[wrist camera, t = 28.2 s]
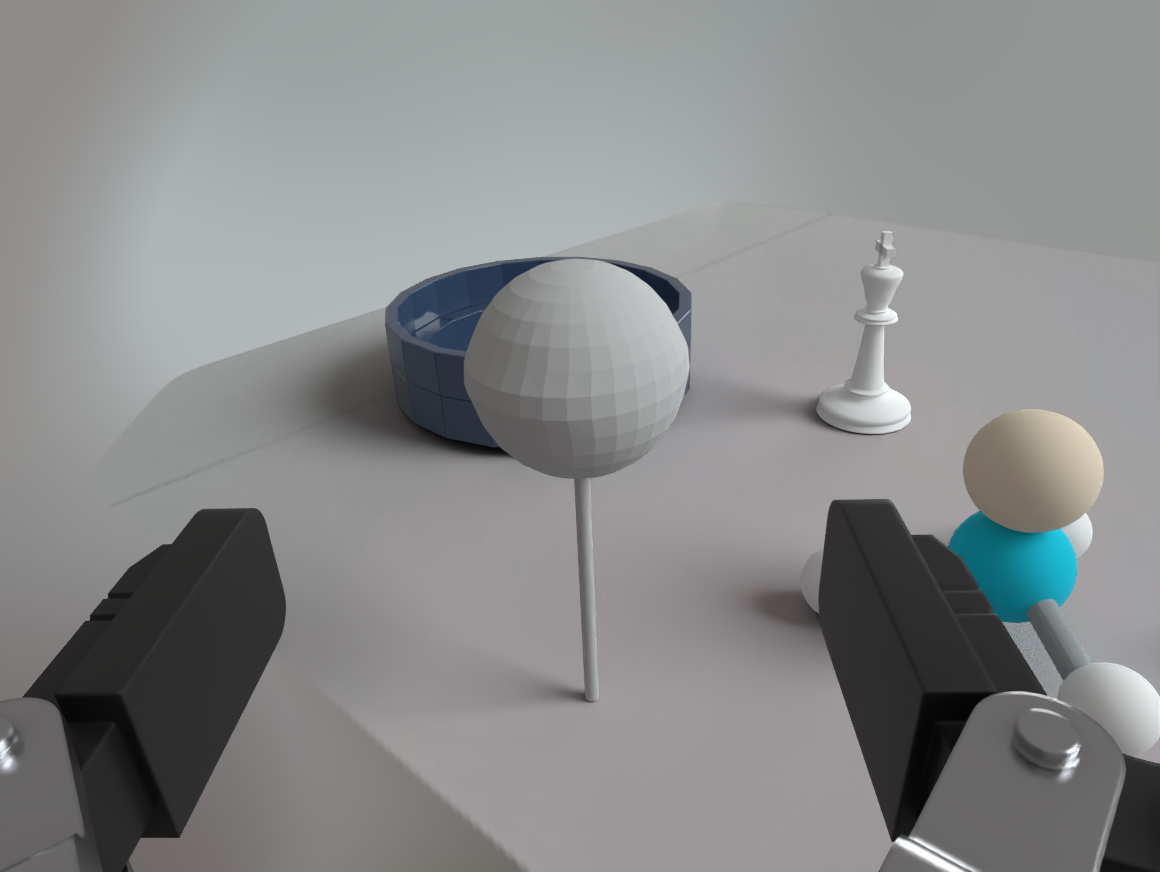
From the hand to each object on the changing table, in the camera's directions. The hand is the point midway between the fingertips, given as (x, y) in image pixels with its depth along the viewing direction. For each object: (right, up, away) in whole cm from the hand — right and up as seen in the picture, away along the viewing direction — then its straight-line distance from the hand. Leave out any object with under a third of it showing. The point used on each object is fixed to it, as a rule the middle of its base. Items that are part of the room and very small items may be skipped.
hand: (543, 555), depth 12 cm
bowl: (-2, +5, +38) cm, 39 cm away
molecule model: (+15, -6, +18) cm, 24 cm away
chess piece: (+16, +3, +34) cm, 38 cm away
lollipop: (+1, -7, +16) cm, 18 cm away
